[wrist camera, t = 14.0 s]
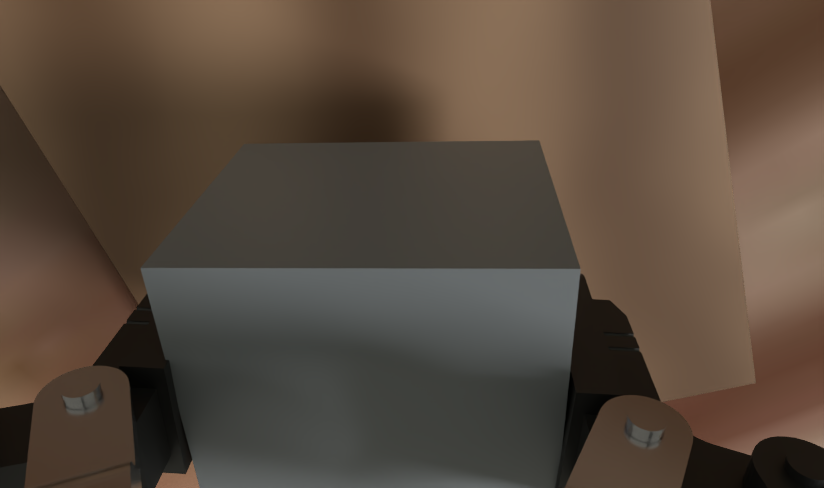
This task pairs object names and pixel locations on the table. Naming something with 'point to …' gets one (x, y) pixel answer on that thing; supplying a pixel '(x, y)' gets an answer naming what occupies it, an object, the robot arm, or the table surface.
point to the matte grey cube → (371, 317)
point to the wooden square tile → (412, 127)
